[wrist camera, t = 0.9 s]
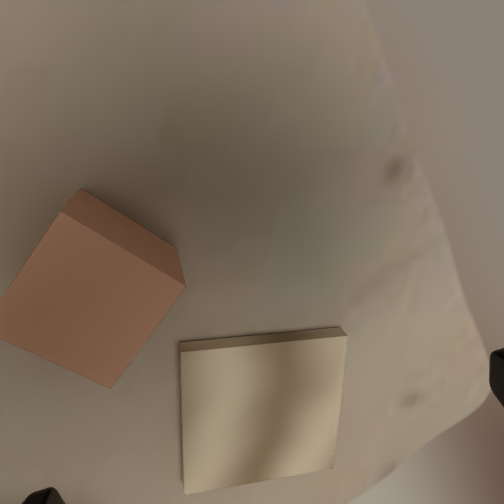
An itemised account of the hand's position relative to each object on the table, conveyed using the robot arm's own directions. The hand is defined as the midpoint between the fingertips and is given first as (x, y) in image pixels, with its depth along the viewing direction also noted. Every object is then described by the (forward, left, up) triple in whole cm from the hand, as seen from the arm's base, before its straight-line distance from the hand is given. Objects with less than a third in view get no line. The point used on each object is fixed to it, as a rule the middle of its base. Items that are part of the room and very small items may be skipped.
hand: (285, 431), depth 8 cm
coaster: (+3, -10, -13) cm, 17 cm away
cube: (-5, -1, -13) cm, 14 cm away
